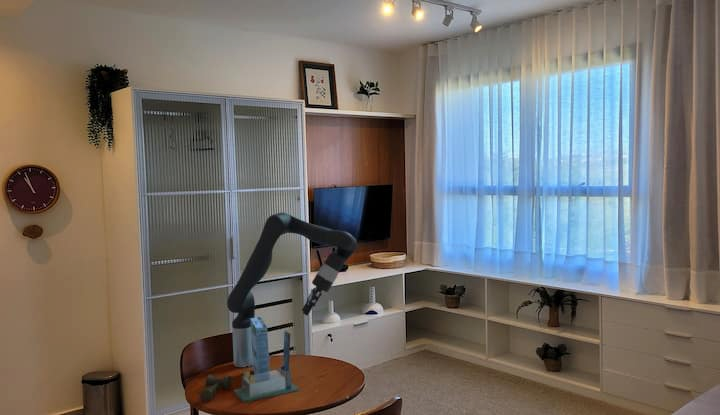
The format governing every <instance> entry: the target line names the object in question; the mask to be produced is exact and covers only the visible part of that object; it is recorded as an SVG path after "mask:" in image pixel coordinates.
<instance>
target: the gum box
mask: <svg viewBox="0 0 720 415" xmlns="http://www.w3.org/2000/svg"><path fill="white" fill-rule="evenodd" d="M250 322H251V339H252V356H253V365H252V371H253V373H254V374H259V373H264V372H269V371H271V370H270V369H271V368H270V352H269V350H270V349H269V336H268V326H267V325H266V323H265V322H264V321H263V319H262V317H261V316H260V317H255V318H250Z"/></svg>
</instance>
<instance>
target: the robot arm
mask: <svg viewBox="0 0 720 415" xmlns="http://www.w3.org/2000/svg"><path fill="white" fill-rule="evenodd" d="M285 234H297V235H300V236H303V237H305V239H307V240H309V241H311V242H312V243H316V244H319V245H322V246H327V247H330V246H332V247H335V248H336V249H335V251H334V252H330V253H329V255H328V256H327V258H326V260H324V262H323V264H322V265H321V266H320V268H319V269H318V271H317V273H316V274H315V276H314V278H313V280H312V281H311V284H312V285H313V286H315V287H313V288H312V289H311V291H310V293H309V294H308V297H307V298H306V301H305V304H304V305H303V307H302V308H301V311H302V313H303V315H305V316H309V314H310V313H311V311H312V309H313V308H314V307H316V304H317V303H318V301H319V299H320V298H321V297H322V294H323V293H322V292H325V293H329V291H330V289H331V287H332V286H333V285H334V284H335V281H336V279H337V277H338V275H339V273H340V271H341V269H342V268H343V266H344V264H345V263H346V262H347V261H348V260H349V259H350V258H351V256H352V255H353V254H354V252H355V251H356V249H357V246H358V241H357V239H356V238H355V237H354V236H353V235H352V234H351V233H349V232H348V231H345V230H340V229H339V230H338V229H331V228H328V227H324V226H321V225H317V224H313V223H310V222H307V221H304V220H301V219H300V218H297V217H296V216H293V215H291V214H288V213H287V212H278V213H274V214H272V215H270V216H269V217H268V218H267V219H266V221H265V222H264V225H263V228H262V231H261V234H260V237H259V240H258V241H257V243H256V245H255V247H254V249H253V251H252V253H251V255H250V256H249V259H248V261H247V263H246V265H245V268H244V269H243V271H242V273H241V275H240V277H239V279H238V280H237V282H236V284H235V286H234V287H233V288H232V290H231V291H230V293H229V295H228V296H227V301H226V304H227V308H228V310H229V311H230V313H234V314H237V315H236V317H235V318H234V319H233V320H232V321H231V327H232V330H231V331H232V348H233V349H232V350H233V351H232V352H233V365H234V367H237V368H247V367H246V366H248V367H251V365H252V366H253V356H252V339H251V322H250V318H256V316H255V314H256V313H255V312H256V311H255V310H256V309H255V306H256V305H255V303H256V302H255V297H254V294H253V292H252V291H251V290H252V289H253V288H254V287H255V286H256V285H257V284H258V283H260V281H261V280H262V279H263V278H264V276H266V273H267V272H268V270H269V268H270V265H272V261H273V249H274V247H275V245H276V243H277V241H279V238H281V236H283V235H285Z"/></svg>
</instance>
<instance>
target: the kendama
mask: <svg viewBox="0 0 720 415" xmlns="http://www.w3.org/2000/svg"><path fill="white" fill-rule="evenodd" d="M204 385H205V386H204V387H205V388H204V389H202V390H200V392H199V395H198V396H199V400H200V401H202V402H203V403H210V402H212V400H213V399H214V398H213V397H215V396H216V394H217V390H218V388H222V389H224V390H226V391H230V390H231V389H232V387H233V377H232V376H231V375H227V376H225V375H224V376H222V378H221V377H220V378H218V377H215V376H213V375H212V374H208V375H206V378H205V382H204Z"/></svg>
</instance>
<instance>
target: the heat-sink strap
mask: <svg viewBox="0 0 720 415" xmlns="http://www.w3.org/2000/svg"><path fill="white" fill-rule="evenodd" d="M283 332H284V335H283V360H282V366H283V370H284V372H285V373H286V371H287V370H290V355H291V354H290V353H291V352H290V351H291V333H290V332H288V331H286V330H285V331H283Z"/></svg>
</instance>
